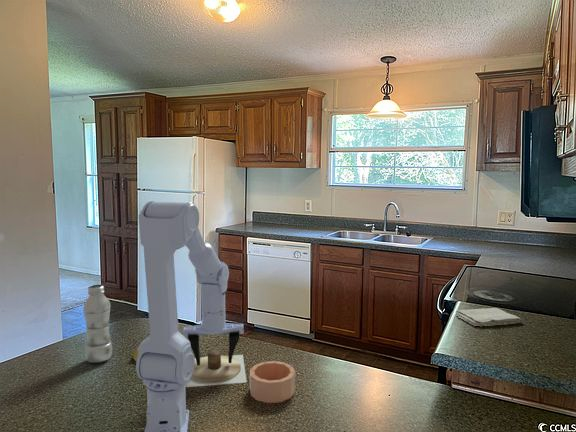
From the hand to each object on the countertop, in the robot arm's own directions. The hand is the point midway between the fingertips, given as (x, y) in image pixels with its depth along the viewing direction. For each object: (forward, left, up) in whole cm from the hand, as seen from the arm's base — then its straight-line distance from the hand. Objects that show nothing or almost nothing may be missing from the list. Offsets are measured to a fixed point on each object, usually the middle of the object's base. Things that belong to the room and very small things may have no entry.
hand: (214, 362), depth 105 cm
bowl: (-12, -13, -2) cm, 18 cm away
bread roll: (+11, +17, -3) cm, 20 cm away
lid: (0, 0, -2) cm, 2 cm away
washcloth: (+23, -91, -3) cm, 94 cm away
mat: (0, 0, -2) cm, 2 cm away
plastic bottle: (+11, +30, -3) cm, 32 cm away
